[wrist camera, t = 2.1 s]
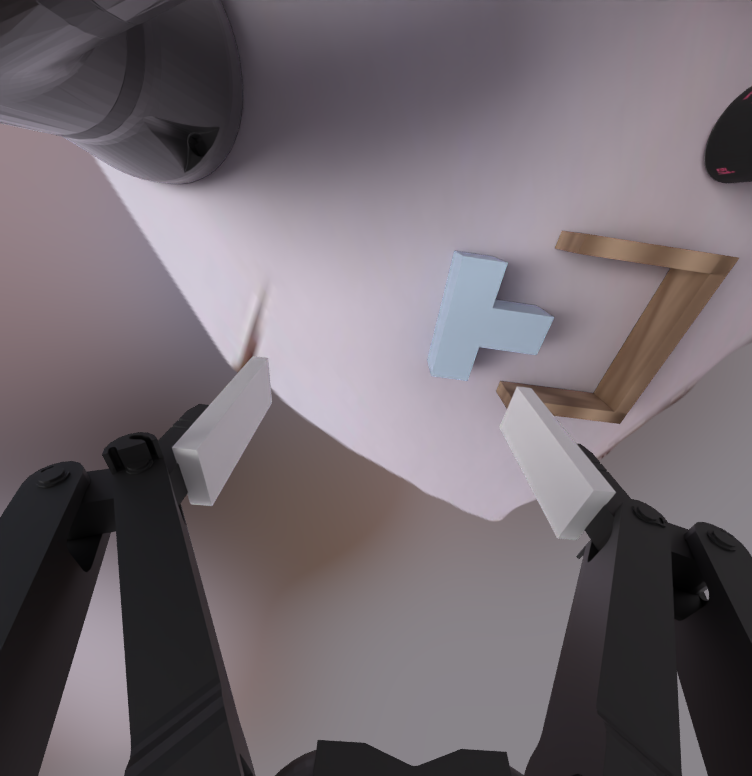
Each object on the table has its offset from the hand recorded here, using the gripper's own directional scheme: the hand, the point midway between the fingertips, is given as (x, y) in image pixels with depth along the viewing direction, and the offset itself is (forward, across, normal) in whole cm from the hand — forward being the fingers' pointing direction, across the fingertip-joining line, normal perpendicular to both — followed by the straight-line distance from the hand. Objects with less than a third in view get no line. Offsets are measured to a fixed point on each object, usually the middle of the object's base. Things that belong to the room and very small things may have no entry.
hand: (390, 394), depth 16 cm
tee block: (+19, +11, -1) cm, 21 cm away
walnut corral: (+19, +22, -1) cm, 29 cm away
